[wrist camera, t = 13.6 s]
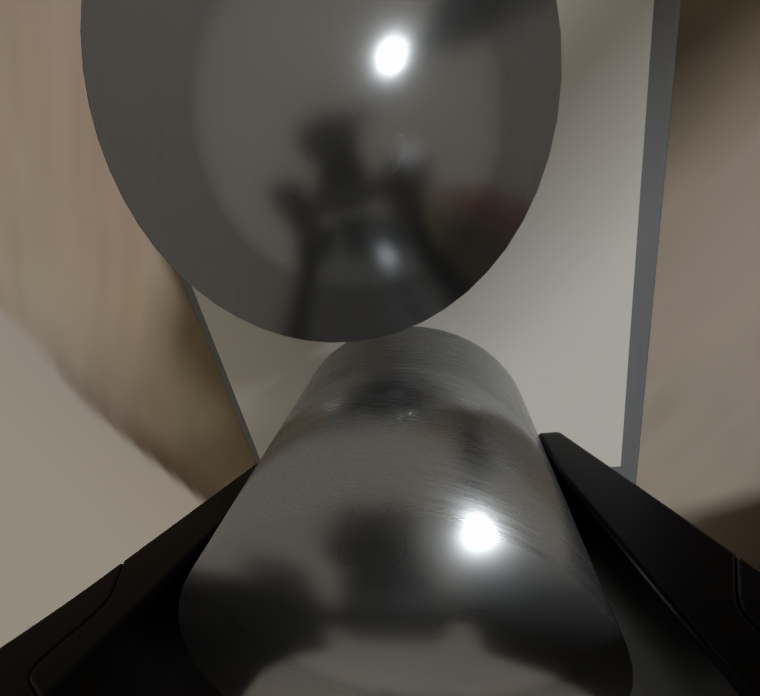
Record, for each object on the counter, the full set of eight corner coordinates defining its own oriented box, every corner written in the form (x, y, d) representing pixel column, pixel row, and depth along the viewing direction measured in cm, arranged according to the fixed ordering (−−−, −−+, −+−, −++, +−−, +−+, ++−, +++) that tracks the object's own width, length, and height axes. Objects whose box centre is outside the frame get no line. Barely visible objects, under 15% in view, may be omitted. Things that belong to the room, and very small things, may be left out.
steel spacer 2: (520, 308, 8) (653, 495, 3) (531, 506, 10) (621, 795, 5) (275, 344, 9) (99, 521, 4) (333, 515, 11) (260, 759, 6)
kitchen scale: (641, -100, 9) (794, -308, 5) (609, 467, 15) (665, 557, 11) (140, 63, 11) (3, 4, 8) (293, 485, 18) (258, 561, 14)
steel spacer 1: (441, -69, 7) (458, -490, 2) (519, 212, 9) (607, 257, 4) (216, 82, 9) (-19, -12, 4) (325, 293, 10) (247, 386, 6)
